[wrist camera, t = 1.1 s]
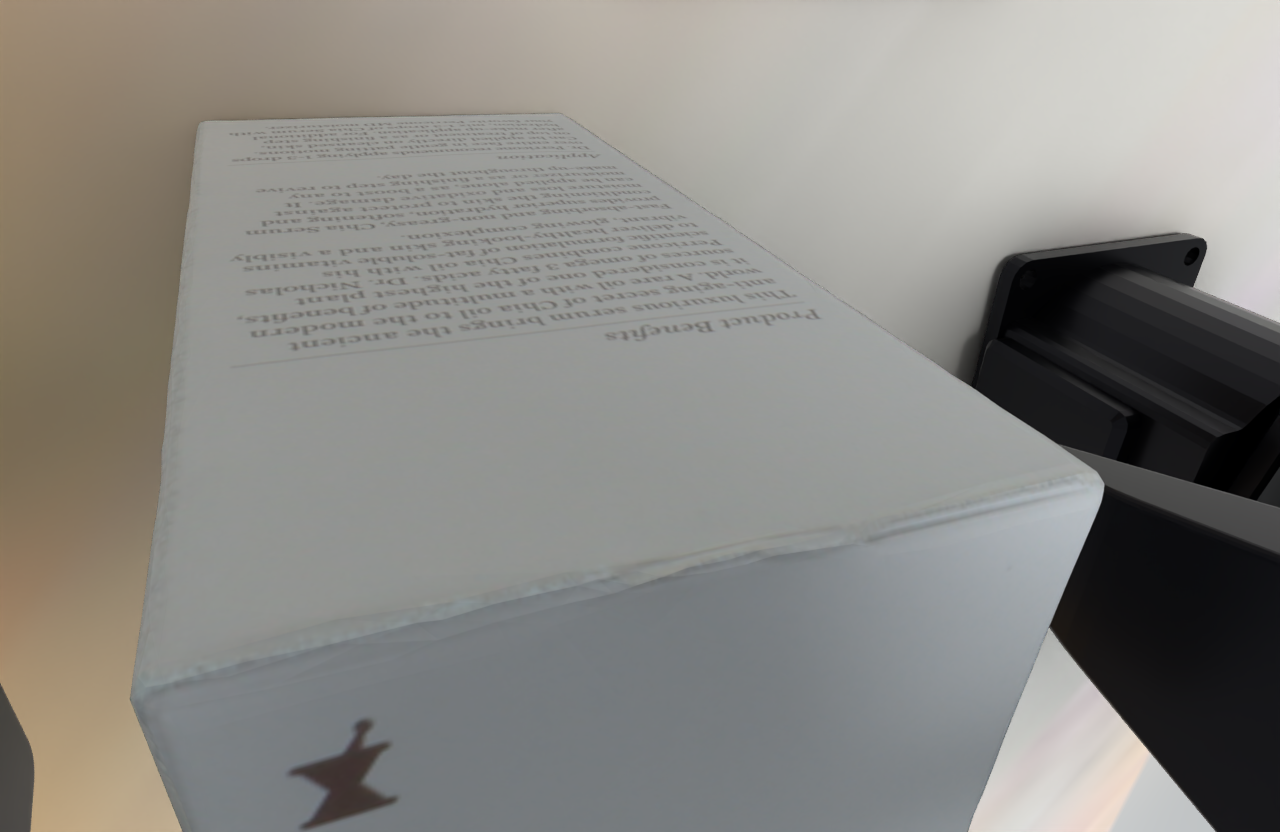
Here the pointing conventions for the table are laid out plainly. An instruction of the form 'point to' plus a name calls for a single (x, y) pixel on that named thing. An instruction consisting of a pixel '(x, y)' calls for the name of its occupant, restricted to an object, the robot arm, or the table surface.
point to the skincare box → (565, 509)
